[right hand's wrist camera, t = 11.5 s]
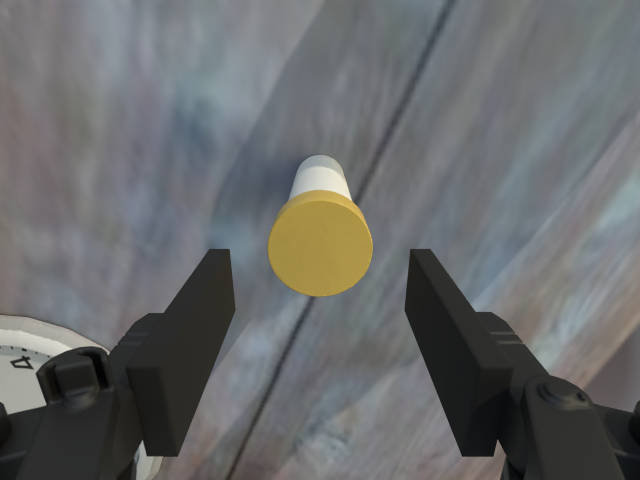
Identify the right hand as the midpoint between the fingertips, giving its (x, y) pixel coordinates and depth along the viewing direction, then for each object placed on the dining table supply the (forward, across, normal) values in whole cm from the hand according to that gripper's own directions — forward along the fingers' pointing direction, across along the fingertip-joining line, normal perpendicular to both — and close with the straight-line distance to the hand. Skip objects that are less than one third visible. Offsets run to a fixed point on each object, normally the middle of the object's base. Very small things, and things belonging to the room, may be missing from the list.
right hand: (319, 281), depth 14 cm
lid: (+3, 0, 0) cm, 3 cm away
